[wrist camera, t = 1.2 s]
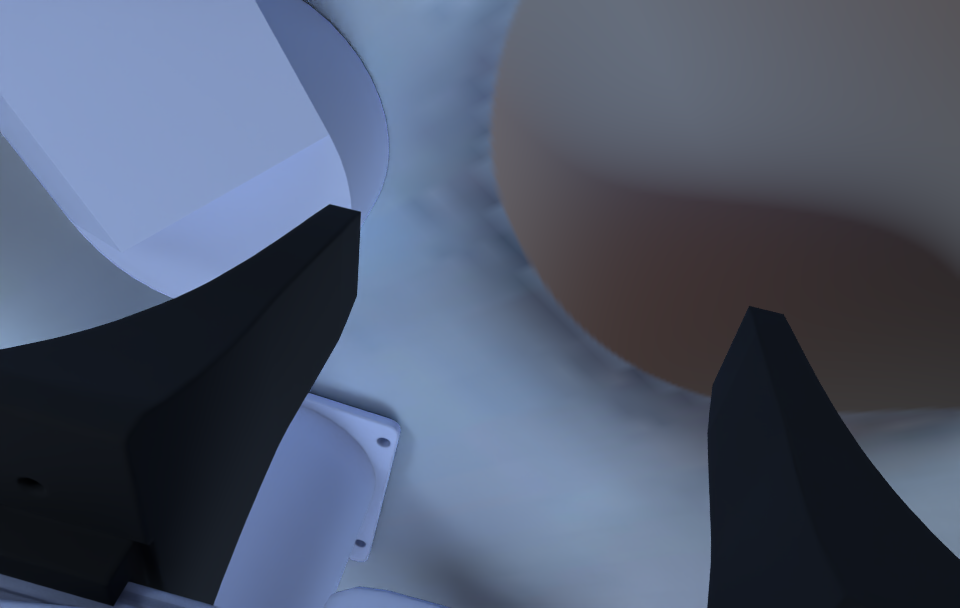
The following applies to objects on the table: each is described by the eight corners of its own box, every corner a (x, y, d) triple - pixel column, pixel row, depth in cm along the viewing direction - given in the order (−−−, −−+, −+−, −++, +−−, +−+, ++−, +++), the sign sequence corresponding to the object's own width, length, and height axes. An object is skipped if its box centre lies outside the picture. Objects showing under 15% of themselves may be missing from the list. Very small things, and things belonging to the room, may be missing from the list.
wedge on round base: (-63, -111, 22) (209, 274, 29) (-294, -33, 17) (102, 413, 24) (197, -267, 19) (439, 212, 25) (3, -228, 14) (371, 361, 20)
